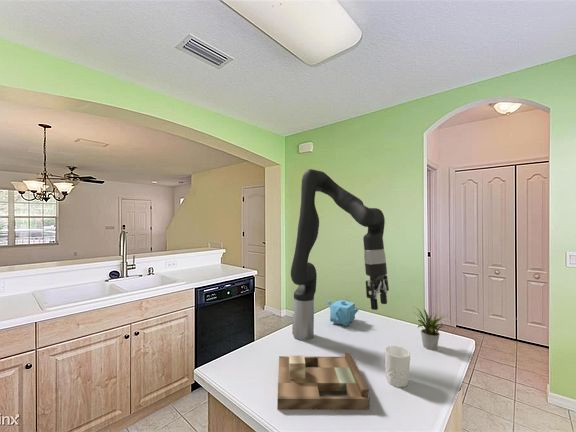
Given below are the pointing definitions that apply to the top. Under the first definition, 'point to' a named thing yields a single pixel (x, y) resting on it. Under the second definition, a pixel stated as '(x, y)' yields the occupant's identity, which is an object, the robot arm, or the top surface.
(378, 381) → the top surface
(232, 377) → the top surface
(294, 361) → the birch block
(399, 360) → the white cup
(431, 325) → the house plant
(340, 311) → the teapot
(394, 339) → the top surface
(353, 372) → the box
